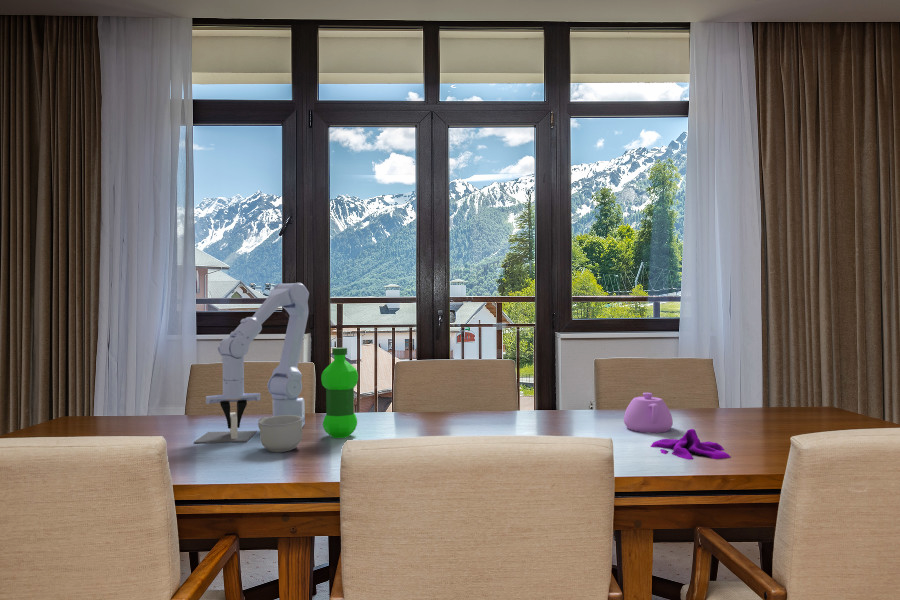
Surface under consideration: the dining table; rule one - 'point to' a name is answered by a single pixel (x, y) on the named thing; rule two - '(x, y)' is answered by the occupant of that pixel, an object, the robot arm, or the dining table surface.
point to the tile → (233, 425)
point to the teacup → (280, 432)
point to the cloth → (691, 447)
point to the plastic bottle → (339, 395)
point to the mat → (225, 437)
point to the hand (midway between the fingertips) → (233, 427)
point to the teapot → (648, 414)
